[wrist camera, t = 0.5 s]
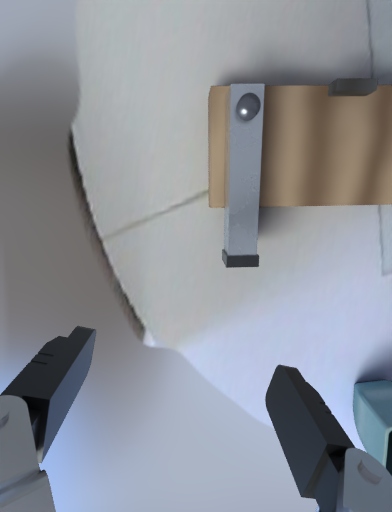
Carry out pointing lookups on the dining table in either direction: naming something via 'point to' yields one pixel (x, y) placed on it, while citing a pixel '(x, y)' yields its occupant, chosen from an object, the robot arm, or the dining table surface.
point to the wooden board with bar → (314, 144)
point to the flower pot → (375, 419)
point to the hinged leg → (242, 173)
